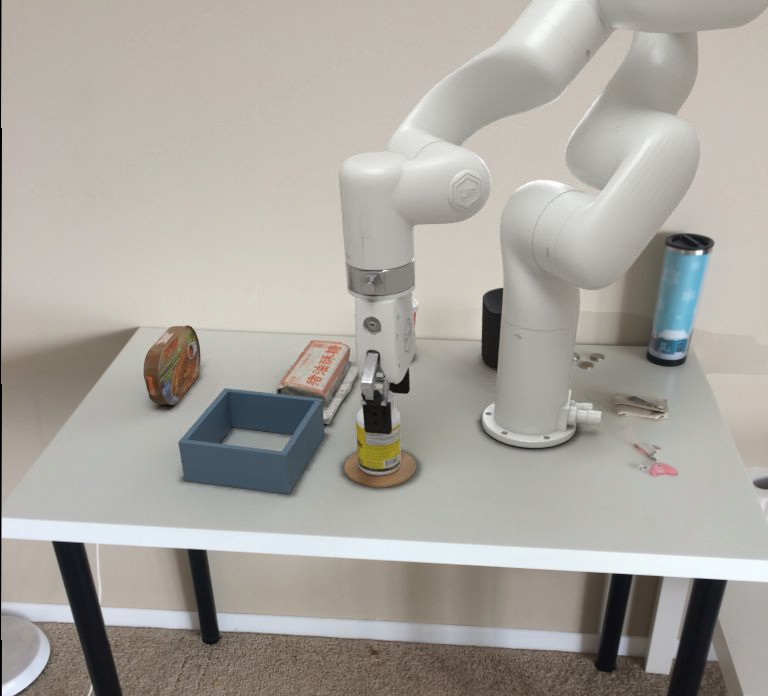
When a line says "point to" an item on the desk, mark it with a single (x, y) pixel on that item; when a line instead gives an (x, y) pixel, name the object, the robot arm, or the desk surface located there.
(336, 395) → the packaged product
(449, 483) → the desk surface
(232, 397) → the open box
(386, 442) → the supplement bottle
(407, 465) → the coaster
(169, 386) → the tin
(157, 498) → the desk surface
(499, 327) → the pen holder
